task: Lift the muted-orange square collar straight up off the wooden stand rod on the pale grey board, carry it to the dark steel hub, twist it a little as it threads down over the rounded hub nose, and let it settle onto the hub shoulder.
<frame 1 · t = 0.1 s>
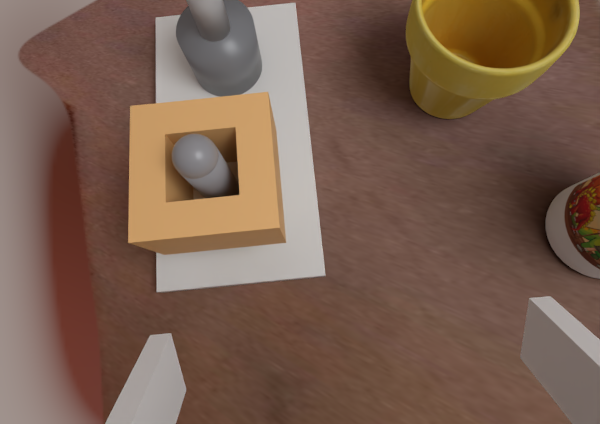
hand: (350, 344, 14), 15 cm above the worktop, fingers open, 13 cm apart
collar: (222, 190, 26), point 6 cm above the worktop, touching assembly board
milk bottle: (589, 231, 30), on the worktop
plant pot: (444, 88, 34), on the worktop
assembly board: (235, 140, 33), on the worktop
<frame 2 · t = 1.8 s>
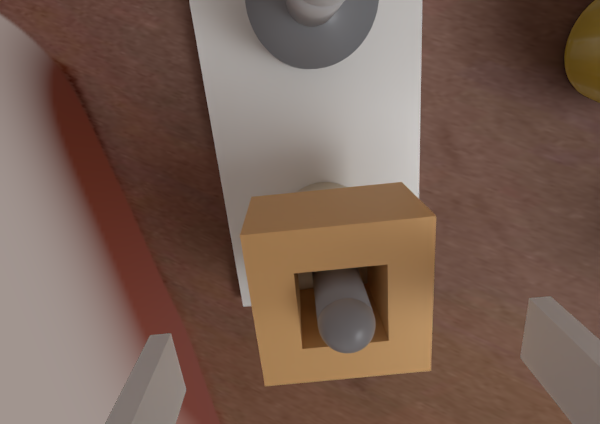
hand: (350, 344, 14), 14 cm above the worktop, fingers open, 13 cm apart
collar: (331, 256, 21), point 6 cm above the worktop, touching assembly board
assembly board: (315, 126, 25), on the worktop
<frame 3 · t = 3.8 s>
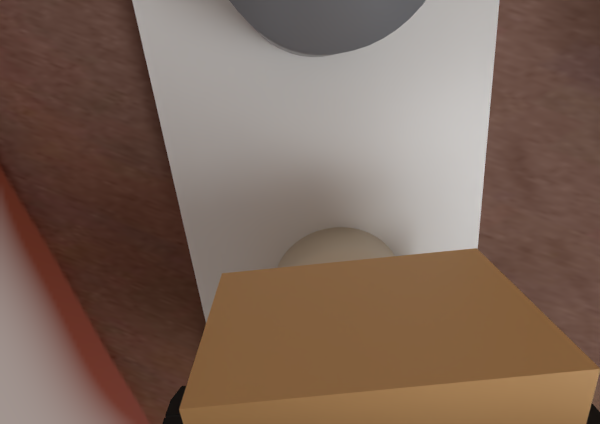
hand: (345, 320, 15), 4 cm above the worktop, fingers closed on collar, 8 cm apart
collar: (354, 360, 13), point 6 cm above the worktop, touching assembly board, gripper
assembly board: (325, 143, 16), on the worktop
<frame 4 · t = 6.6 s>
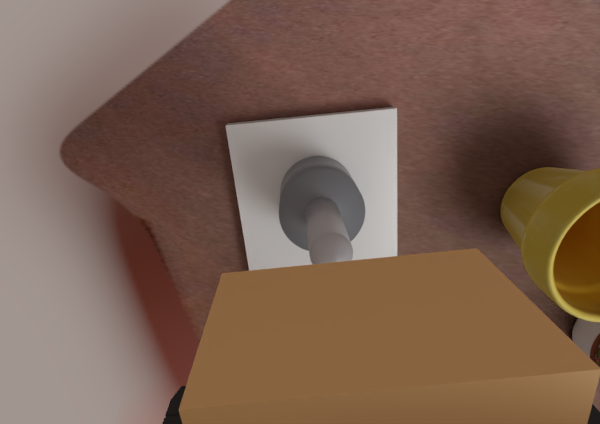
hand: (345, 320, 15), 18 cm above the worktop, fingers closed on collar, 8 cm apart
collar: (354, 360, 13), point 20 cm above the worktop, touching gripper
plant pot: (534, 203, 33), on the worktop
assembly board: (321, 256, 34), on the worktop
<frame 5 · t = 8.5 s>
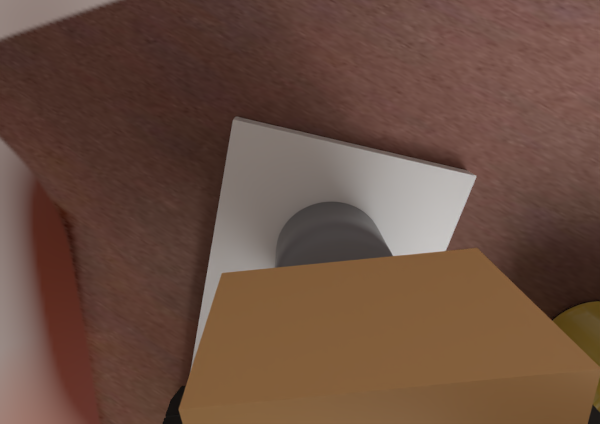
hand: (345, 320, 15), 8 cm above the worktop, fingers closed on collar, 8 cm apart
collar: (354, 360, 13), point 10 cm above the worktop, touching gripper
plant pot: (580, 339, 26), on the worktop
assembly board: (301, 329, 25), on the worktop
when the fingers open (5 cm above the worktop, at t = 9.9 s): collar stays where it is, resting on assembly board.
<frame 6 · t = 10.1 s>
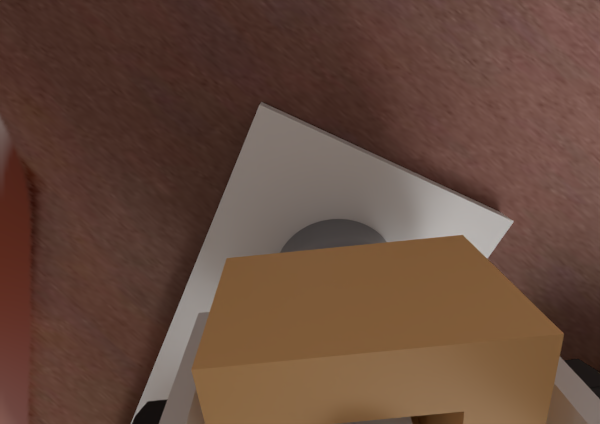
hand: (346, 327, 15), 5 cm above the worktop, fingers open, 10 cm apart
collar: (349, 341, 14), point 6 cm above the worktop, touching assembly board
assembly board: (282, 353, 22), on the worktop
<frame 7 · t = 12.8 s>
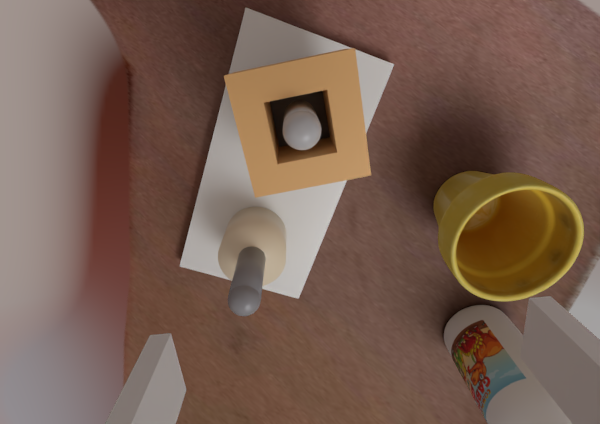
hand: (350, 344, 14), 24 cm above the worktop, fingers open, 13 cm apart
collar: (299, 116, 29), point 6 cm above the worktop, touching assembly board
milk bottle: (473, 328, 45), on the worktop
plant pot: (463, 201, 38), on the worktop
assembly board: (276, 171, 36), on the worktop
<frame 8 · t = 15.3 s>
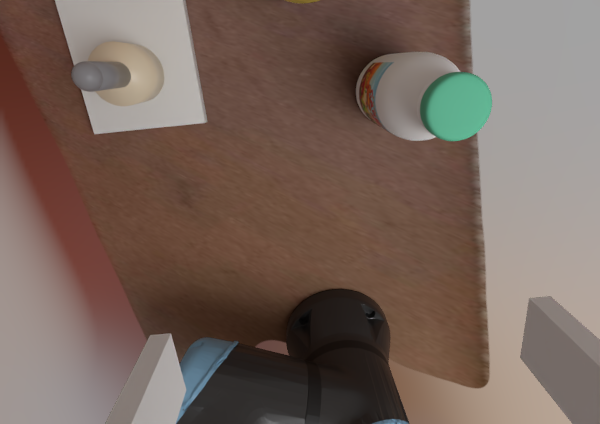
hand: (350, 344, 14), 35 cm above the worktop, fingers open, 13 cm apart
milk bottle: (387, 89, 44), on the worktop
assembly board: (125, 8, 40), on the worktop
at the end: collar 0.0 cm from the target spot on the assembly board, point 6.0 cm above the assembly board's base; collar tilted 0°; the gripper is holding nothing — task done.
